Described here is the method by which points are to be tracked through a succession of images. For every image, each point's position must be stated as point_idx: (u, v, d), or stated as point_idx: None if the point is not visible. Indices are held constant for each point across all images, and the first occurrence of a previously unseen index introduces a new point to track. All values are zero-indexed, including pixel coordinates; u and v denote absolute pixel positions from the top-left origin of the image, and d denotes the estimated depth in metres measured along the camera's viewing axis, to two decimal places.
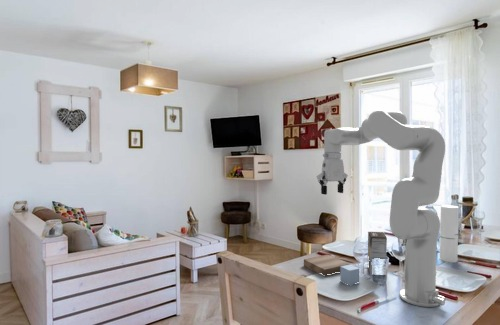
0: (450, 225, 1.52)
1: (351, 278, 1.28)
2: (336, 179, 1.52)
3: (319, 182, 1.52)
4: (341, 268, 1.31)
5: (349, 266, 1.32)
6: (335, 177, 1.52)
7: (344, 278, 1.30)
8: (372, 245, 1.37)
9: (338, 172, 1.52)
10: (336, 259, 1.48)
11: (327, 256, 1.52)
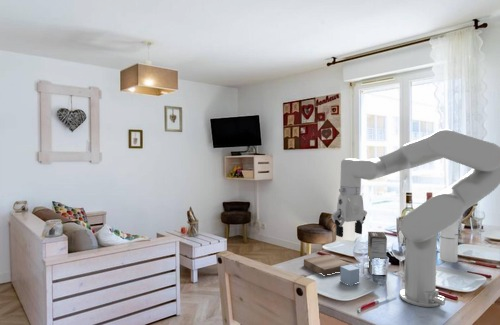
0: (450, 225, 1.52)
1: (351, 278, 1.28)
2: (354, 219, 1.27)
3: (334, 222, 1.27)
4: (341, 268, 1.31)
5: (349, 266, 1.32)
6: (353, 216, 1.27)
7: (344, 278, 1.30)
8: (372, 245, 1.37)
9: (357, 210, 1.28)
10: (336, 259, 1.48)
11: (327, 256, 1.52)
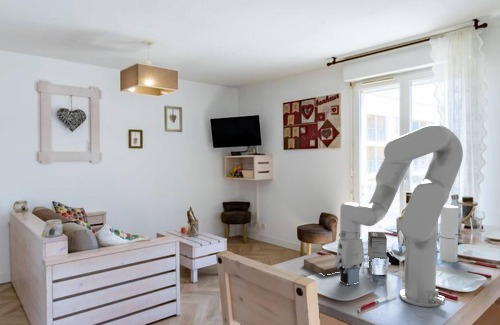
0: (450, 225, 1.52)
1: (351, 277, 1.28)
2: (355, 263, 1.28)
3: None
4: None
5: (349, 266, 1.32)
6: (353, 261, 1.28)
7: None
8: (372, 245, 1.37)
9: (357, 254, 1.29)
10: (336, 259, 1.48)
11: (327, 256, 1.52)
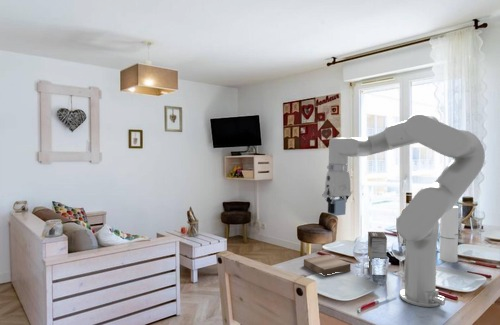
0: (450, 225, 1.52)
1: (338, 208, 1.35)
2: (341, 194, 1.35)
3: (326, 200, 1.36)
4: None
5: (336, 198, 1.39)
6: (340, 192, 1.35)
7: None
8: (372, 245, 1.37)
9: (344, 186, 1.35)
10: (336, 259, 1.48)
11: (327, 256, 1.52)
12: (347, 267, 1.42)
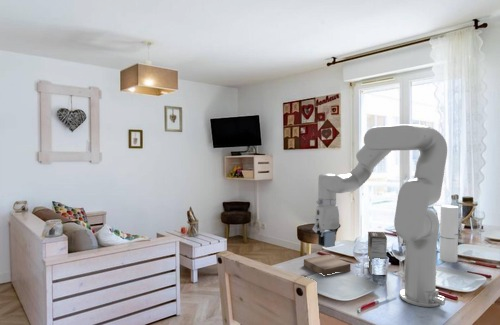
0: (450, 225, 1.52)
1: (327, 240, 1.43)
2: (330, 227, 1.43)
3: (316, 232, 1.43)
4: None
5: (326, 231, 1.47)
6: (329, 225, 1.42)
7: None
8: (372, 245, 1.37)
9: (333, 220, 1.43)
10: (336, 259, 1.48)
11: (327, 256, 1.52)
12: (347, 267, 1.42)
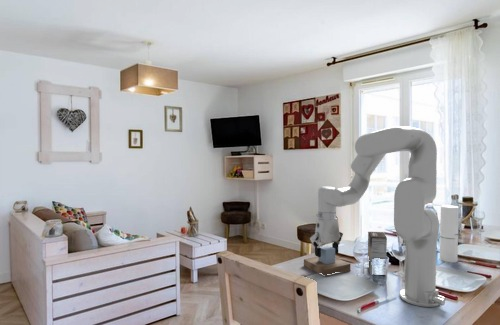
0: (450, 225, 1.52)
1: (328, 257, 1.43)
2: (331, 240, 1.43)
3: (313, 244, 1.43)
4: None
5: (326, 247, 1.47)
6: (329, 238, 1.43)
7: (321, 258, 1.45)
8: (372, 245, 1.37)
9: (333, 233, 1.43)
10: (336, 259, 1.48)
11: None
12: (347, 267, 1.42)
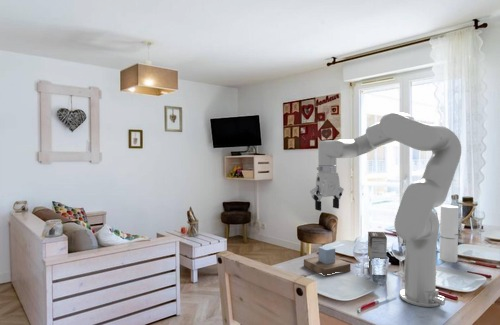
0: (450, 225, 1.52)
1: (328, 257, 1.43)
2: (331, 194, 1.42)
3: (313, 197, 1.42)
4: (319, 248, 1.46)
5: (326, 247, 1.47)
6: (330, 192, 1.42)
7: (321, 258, 1.45)
8: (372, 245, 1.37)
9: (333, 186, 1.42)
10: (336, 259, 1.48)
11: None
12: (347, 267, 1.42)
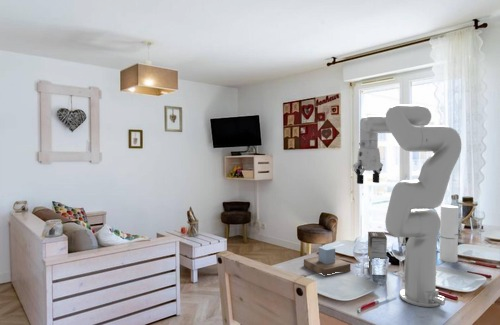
0: (450, 225, 1.52)
1: (328, 257, 1.43)
2: (373, 168, 1.48)
3: (355, 171, 1.48)
4: (319, 248, 1.46)
5: (326, 247, 1.47)
6: (372, 166, 1.48)
7: (321, 258, 1.45)
8: (372, 245, 1.37)
9: (375, 161, 1.49)
10: (336, 259, 1.48)
11: None
12: (347, 267, 1.42)
